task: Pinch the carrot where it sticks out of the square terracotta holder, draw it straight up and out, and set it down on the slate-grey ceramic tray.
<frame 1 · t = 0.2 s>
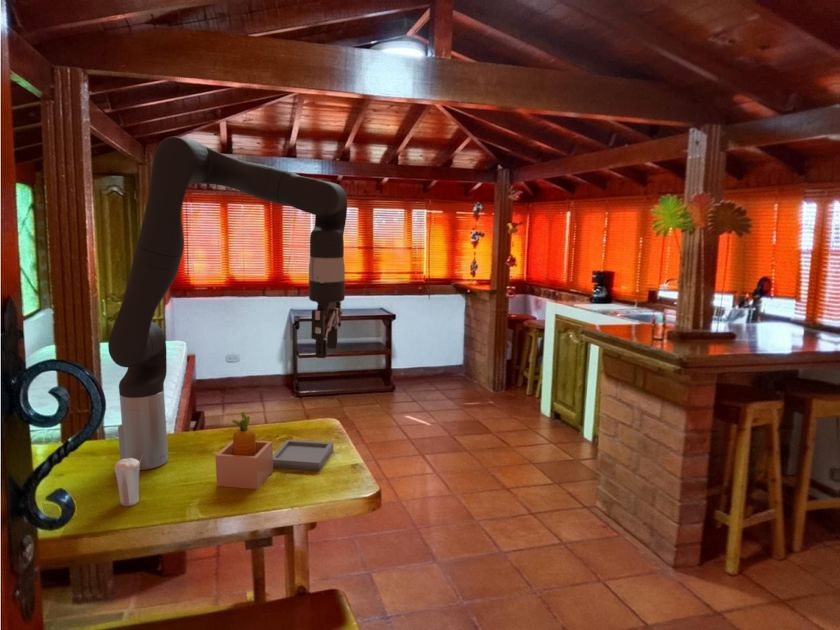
hand: (326, 352, 127), 29 cm above the table, tool pointing down, fingers open, 8 cm apart
carrot: (245, 478, 130), resting in holder
tray: (302, 458, 141), on the table
holder: (245, 478, 130), on the table
milkshake: (132, 503, 118), on the table
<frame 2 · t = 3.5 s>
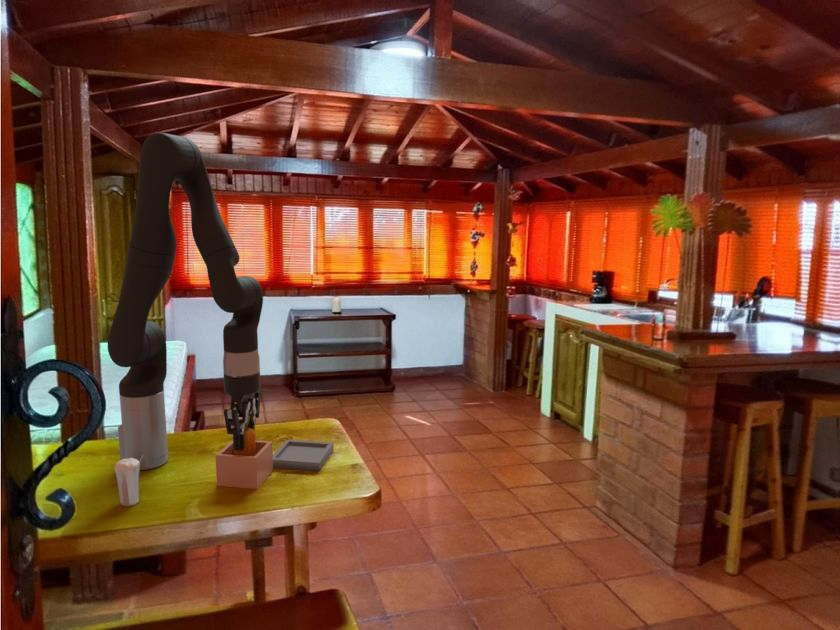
hand: (244, 444, 128), 8 cm above the table, tool pointing down, fingers closed on carrot, 5 cm apart
carrot: (245, 478, 130), resting in holder, touching gripper
everything else where it was.
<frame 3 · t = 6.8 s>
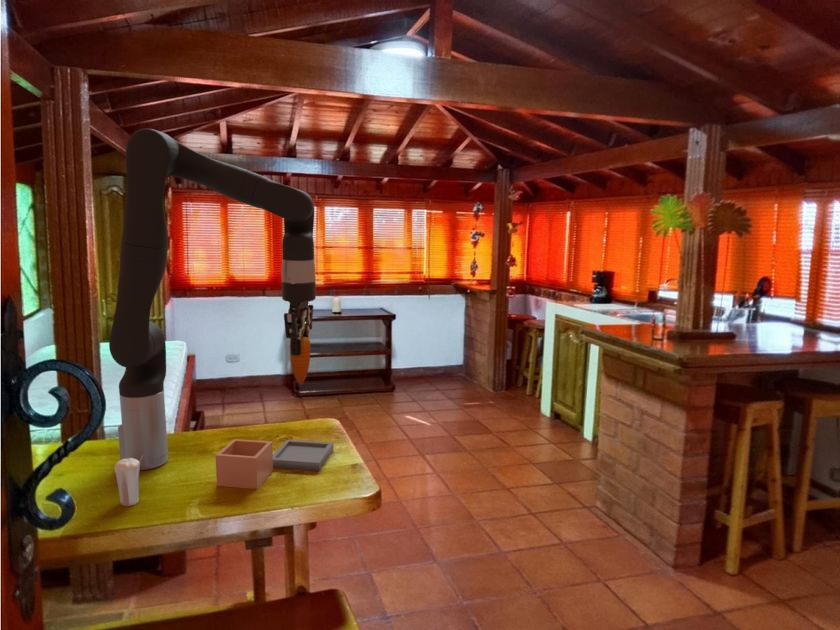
hand: (299, 351, 136), 26 cm above the table, tool pointing down, fingers closed on carrot, 5 cm apart
carrot: (300, 385, 137), point 18 cm above the table, touching gripper
everything else where it was.
when the fingers open (10 cm above the table, at t = 10.0 s): carrot drops 1 cm, resting on tray.
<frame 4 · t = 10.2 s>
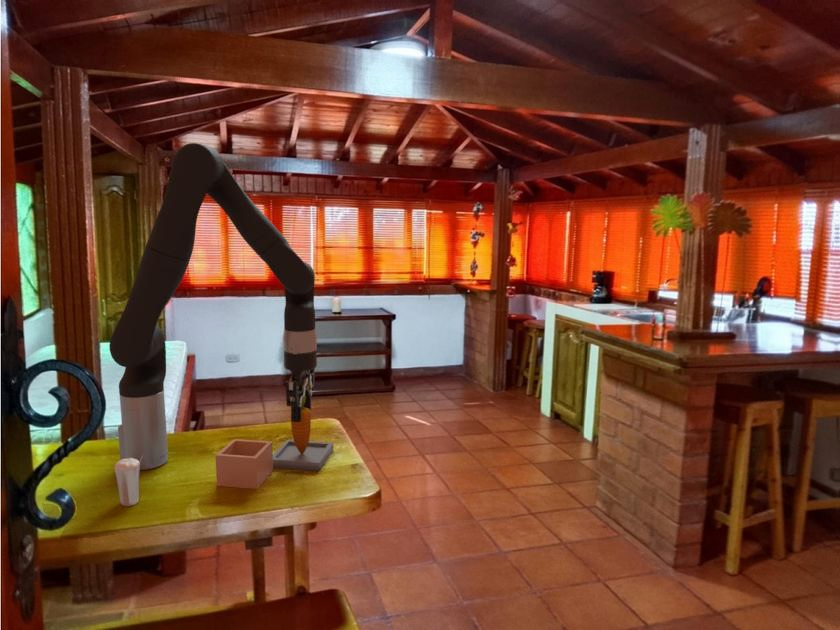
hand: (301, 415, 139), 11 cm above the table, tool pointing down, fingers open, 6 cm apart
carrot: (302, 454, 140), point 1 cm above the table, touching tray
everything else where it was.
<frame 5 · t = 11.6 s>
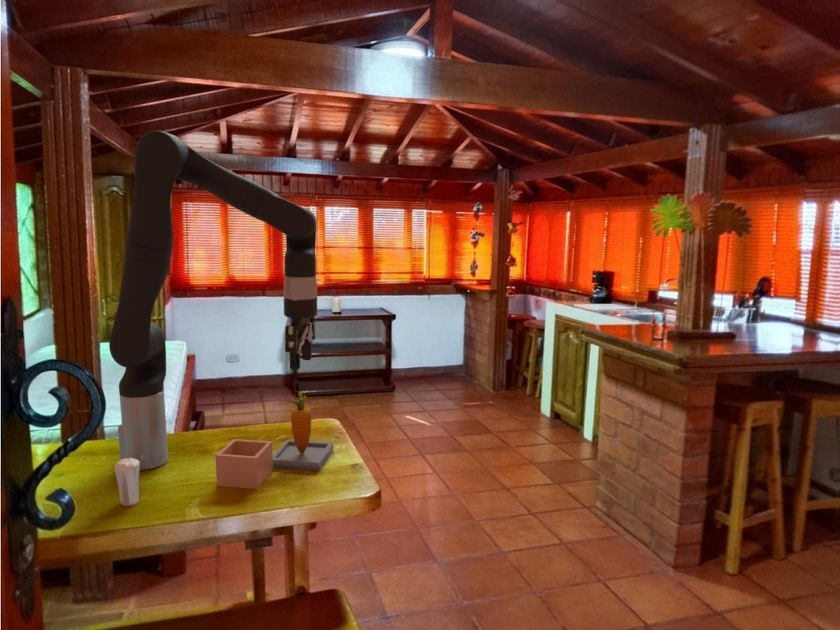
hand: (301, 364, 137), 23 cm above the table, tool pointing down, fingers open, 8 cm apart
nothing on the table moved.
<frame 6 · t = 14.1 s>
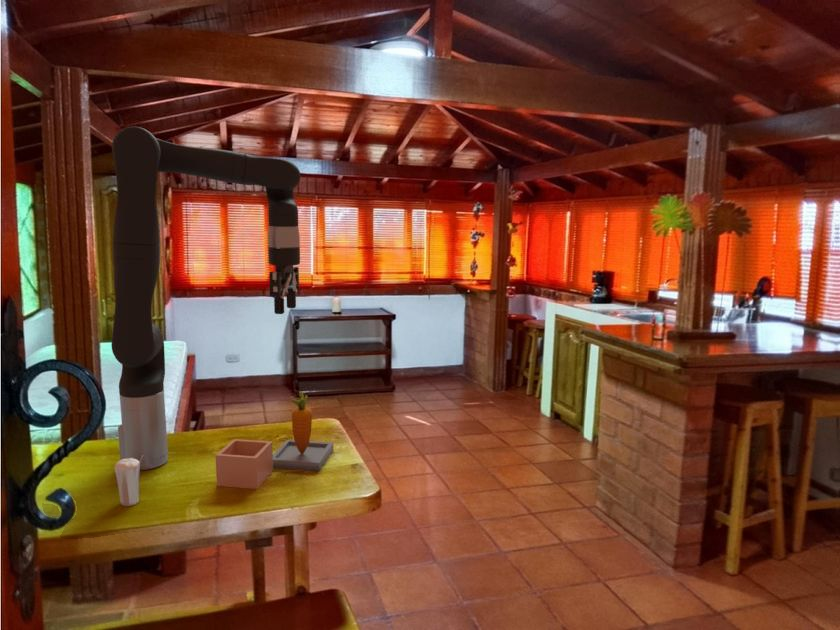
hand: (285, 310, 145), 34 cm above the table, tool pointing down, fingers open, 8 cm apart
nothing on the table moved.
at the end: carrot inside the target area on the tray (0.0 cm from its centre), point 1.0 cm above the tray's base; the gripper is holding nothing; carrot touching tray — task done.
